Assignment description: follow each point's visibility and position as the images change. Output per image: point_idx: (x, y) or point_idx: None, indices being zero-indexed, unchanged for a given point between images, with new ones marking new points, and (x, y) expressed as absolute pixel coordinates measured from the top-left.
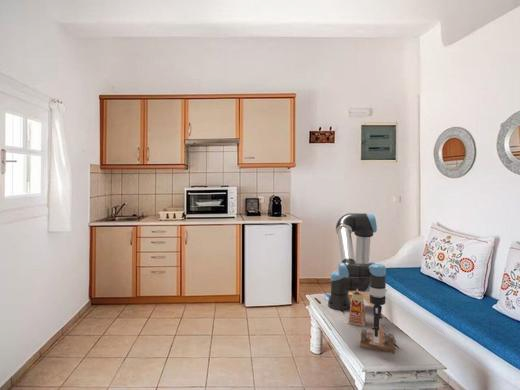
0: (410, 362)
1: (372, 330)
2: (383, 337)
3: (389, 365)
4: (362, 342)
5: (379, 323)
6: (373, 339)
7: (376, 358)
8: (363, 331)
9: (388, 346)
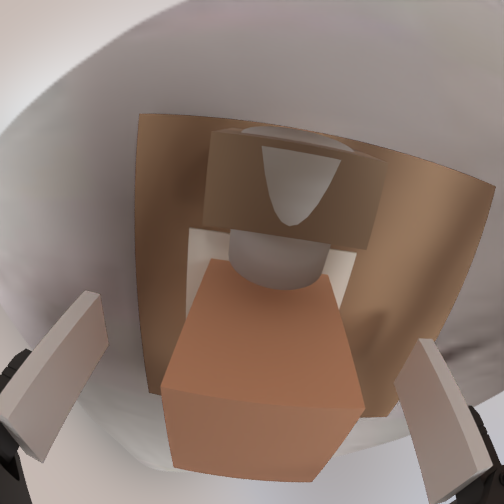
0: (101, 410)
1: (165, 375)
2: (372, 362)
3: (16, 317)
4: (198, 146)
5: (427, 452)
6: (69, 310)
7: (36, 259)
8: (285, 184)
9: None
